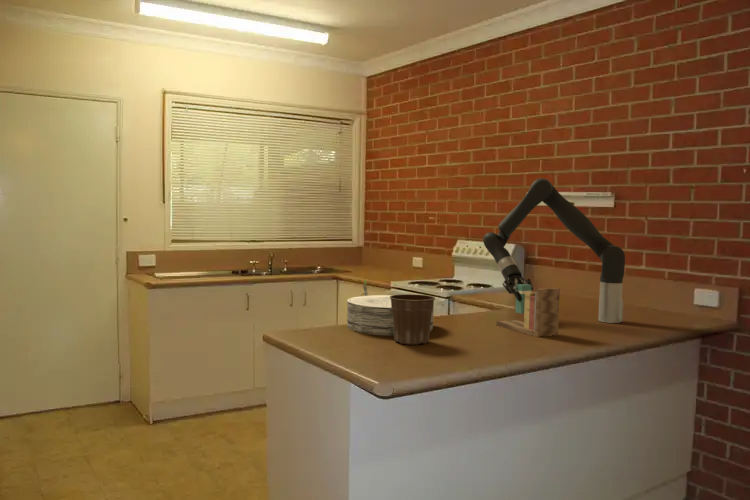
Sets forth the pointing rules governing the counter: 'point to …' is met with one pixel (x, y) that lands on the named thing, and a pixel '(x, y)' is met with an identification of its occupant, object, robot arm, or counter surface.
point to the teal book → (521, 304)
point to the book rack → (538, 314)
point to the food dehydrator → (372, 314)
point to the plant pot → (412, 318)
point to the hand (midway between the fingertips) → (526, 299)
